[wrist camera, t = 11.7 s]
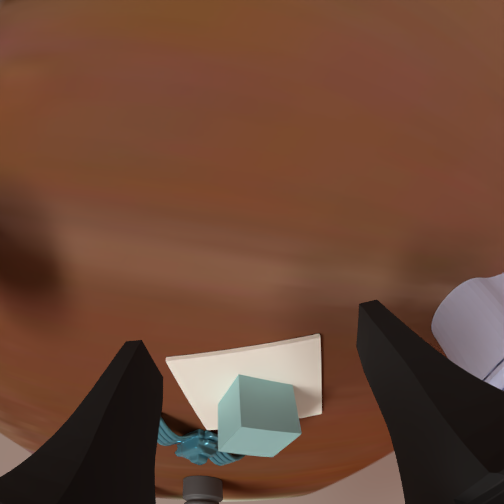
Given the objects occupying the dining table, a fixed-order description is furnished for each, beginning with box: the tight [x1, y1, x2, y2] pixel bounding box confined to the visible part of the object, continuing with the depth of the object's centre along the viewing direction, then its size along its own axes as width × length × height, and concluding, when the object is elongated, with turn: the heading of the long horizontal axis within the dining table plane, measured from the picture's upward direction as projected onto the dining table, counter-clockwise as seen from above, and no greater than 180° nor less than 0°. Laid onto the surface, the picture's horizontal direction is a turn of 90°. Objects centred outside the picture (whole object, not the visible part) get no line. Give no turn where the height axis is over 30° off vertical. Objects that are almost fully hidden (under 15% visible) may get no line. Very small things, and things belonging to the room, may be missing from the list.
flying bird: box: [157, 417, 245, 466], centre depth 30 cm, size 15×7×4 cm, turn 42°
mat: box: [166, 334, 322, 430], centre depth 26 cm, size 12×12×1 cm
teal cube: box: [218, 374, 302, 457], centre depth 24 cm, size 5×5×5 cm
